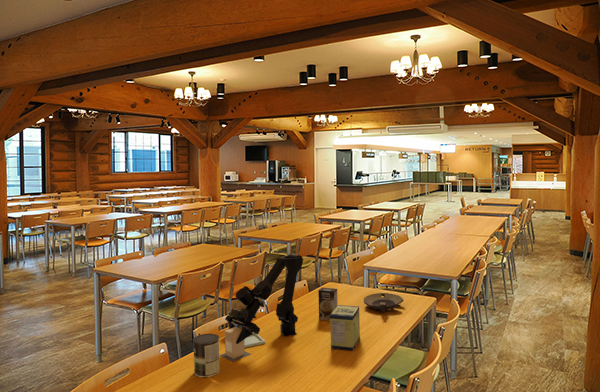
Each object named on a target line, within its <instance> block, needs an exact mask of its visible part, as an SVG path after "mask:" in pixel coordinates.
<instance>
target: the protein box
mask: <svg viewBox="0 0 600 392" xmlns="http://www.w3.org/2000/svg"><path fill="white" fill-rule="evenodd" d="M329 321H330V348H331V349H334V350H335V349H336V350H343V351H354V350H355V348H356V346H357V344H358V342H359V340H360V339H361V325H360V306H355V305H345V304H344V305H342V304H337V307H336V308H335V310H334V311H333V312H332V313H331V315H330V320H329Z"/></svg>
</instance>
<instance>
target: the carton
mask: <svg viewBox="0 0 600 392" xmlns="http://www.w3.org/2000/svg"><path fill="white" fill-rule="evenodd" d="M241 331H242V329H240V328H237V327H234V328H231V329H229V328H228V329H225V330H224V345H225V346H224V348H225V352H224V353H226V355H227V356H229V357H231V358H233V359H235V358H237V357H240V356H242V355H244V354H245V352H246V348H245V345H244V340H243V341H241V342H240V343H239V344H236V341H237V339H238V337H239V335H240V333H241Z"/></svg>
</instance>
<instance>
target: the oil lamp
mask: <svg viewBox="0 0 600 392" xmlns="http://www.w3.org/2000/svg"><path fill="white" fill-rule="evenodd" d="M403 298H404V297H402V296H400V295H398V294H395V293H388V292H378V293H377V292H376V293H371V294H369V295H366V296H365V297H364V298H363V303H364V304H365V305H366V306H368V307H370V308H372V309H375V310H379V311H381V312H386V311H388V310H389V311H390V310H392V309H396V308H398V307H400V306H401V303H403V302H404V299H403Z"/></svg>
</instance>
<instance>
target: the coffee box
mask: <svg viewBox="0 0 600 392" xmlns="http://www.w3.org/2000/svg"><path fill="white" fill-rule="evenodd" d="M337 306H338V288H333V287H320V288H319V289H318V320H321V321H323V320H325V321H330V315H331V313H332V312H333V311H334V310H335V308H336V307H337Z"/></svg>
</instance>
